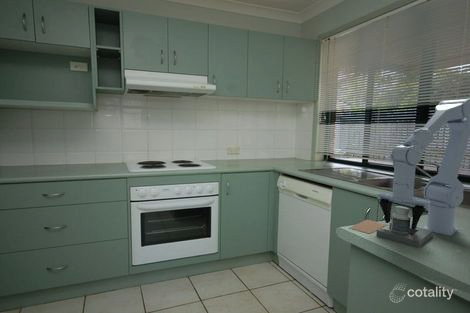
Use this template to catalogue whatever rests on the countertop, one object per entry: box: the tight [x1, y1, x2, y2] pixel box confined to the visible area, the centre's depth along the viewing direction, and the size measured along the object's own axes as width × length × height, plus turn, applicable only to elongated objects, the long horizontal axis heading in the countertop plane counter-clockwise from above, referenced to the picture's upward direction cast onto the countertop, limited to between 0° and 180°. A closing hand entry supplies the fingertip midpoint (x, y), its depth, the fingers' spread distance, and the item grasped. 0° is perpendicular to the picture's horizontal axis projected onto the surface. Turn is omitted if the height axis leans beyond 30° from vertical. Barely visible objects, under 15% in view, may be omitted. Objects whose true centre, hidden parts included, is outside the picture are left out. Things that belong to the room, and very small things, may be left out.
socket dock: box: [376, 222, 434, 248], centre depth 91 cm, size 14×12×2 cm
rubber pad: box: [349, 219, 388, 235], centre depth 100 cm, size 14×7×1 cm, turn 132°
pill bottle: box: [390, 205, 412, 236], centre depth 92 cm, size 5×5×9 cm
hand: (400, 225), depth 92 cm, fingers open, 7 cm apart
